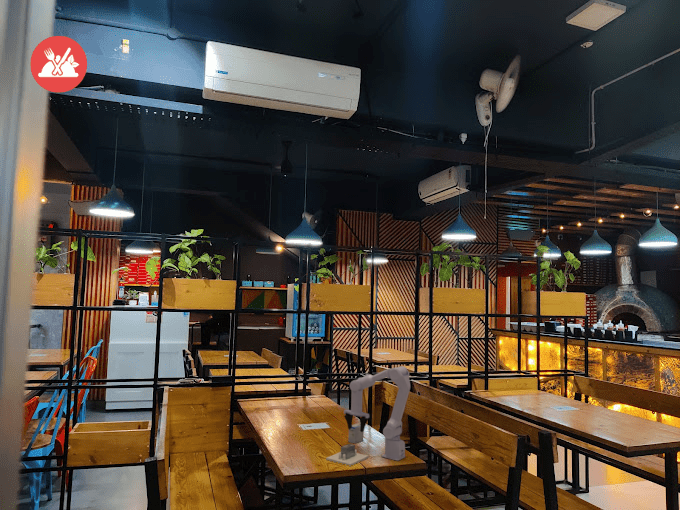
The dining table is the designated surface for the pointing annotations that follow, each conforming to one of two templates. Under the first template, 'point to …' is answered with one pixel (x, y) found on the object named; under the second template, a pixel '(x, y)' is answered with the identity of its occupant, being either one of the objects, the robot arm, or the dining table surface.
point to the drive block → (348, 451)
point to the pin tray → (348, 461)
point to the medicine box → (355, 434)
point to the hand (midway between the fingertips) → (356, 430)
